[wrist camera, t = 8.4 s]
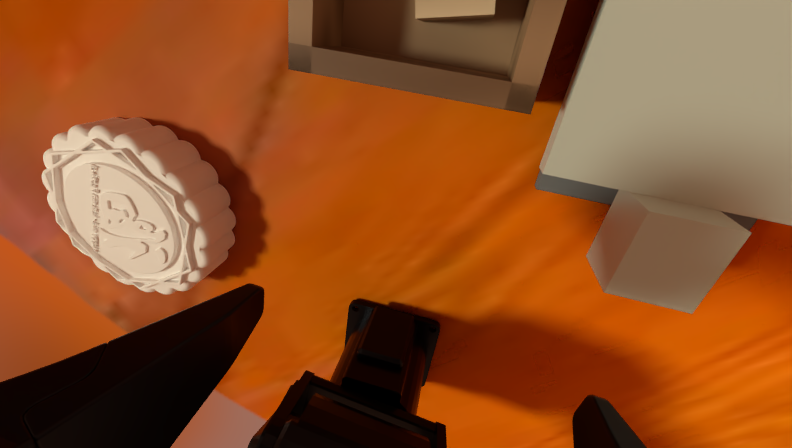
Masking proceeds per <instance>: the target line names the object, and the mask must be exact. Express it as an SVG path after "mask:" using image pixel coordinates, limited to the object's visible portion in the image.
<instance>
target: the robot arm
mask: <svg viewBox="0 0 792 448" xmlns="http://www.w3.org/2000/svg"><path fill="white" fill-rule="evenodd" d="M355 306H357V307H358V308H356V307H355ZM263 309H264V289H263V288H262V287H261V286H258V285H254V284H246V285H244V286H241V287H239V288H236V289H234V290H231V291H229V292H227V293H224V294H222V295H219V296H217V297H215V298H212V299H210V300H207V301H205V302H203V303H200V304H198V305H195V306H193V307H190V308H188V309H186V310H183V311H181V312H178V313H176V314H174V315H171V316H169V317H166V318H164V319H162V320H159V321H157V322H154V323H152V324H149V325H147V326H145V327H142V328H140V329H137V330H135V331H133V332H130V333H128V334H125V335H123V336H121V337H118V338H116V339H113V340H111V341H109V342H108V344H107V343H103V344H101V345H99V346H96V347H94V348H91V349H89V350H87V351H84V352H81V353H79V354H77V355H74V356H71V357H69V358H66V359H64V360H61V361H59V362H56V363H53V364H51V365H48V366H45V367H42V368H40V369H37V370H34V371H31V372H29V373H26V374H23V375H20V376H17V377H14V378H12V379H8V380H6V381H3V382H0V448H170V447H171V446H172V444H173V443H174V442H175V440H176V439H177V438H178V436H179V435H180V434H181V432H182V431H183V430H184V428H185V427H186V426H187V424H188V423H189V422H190V420H191V419H192V417H193V416H194V415H195V414H196V412H197V411H198V410H199V408H200V407H201V406H202V404H203V403H204V402H205V400H206V399H207V398H208V396H209V395H210V394H211V393H212V391H213V390H214V389H215V387H216V386H217V385H218V383H219V382H220V381H221V379H222V378H223V377H224V375H225V374H226V373H227V371H228V370H229V368H230V367H231V366H232V364H233V362H234V361H235V359H236V358H237V356H238V354H239V353H240V351H241V349H242V348H243V346H244V344H245V343H246V341H247V339H248V338H249V336H250V334H251V333H252V331H253V329H254V328H255V326H256V324H257V323H258V321H259V319H260V318H261V316H262V313H263ZM431 327H434V328H431ZM439 332H440V324H439V323H438V322H437V321H435V320H432V319H428V318H424V317H420V316H417V315H413V314H409V313H405V312H402V311H398V310H394V309H390V308H387V307H383V306H379V305H375V304H372V303H368V302H364V301H360V300H353V301H352V302H351V303H350V305H349V310H348V320H347V329H346V339H345V348H344V351H343V353H342V355H341V358H340V360H339V362H338V364H337V366H336V369H335V371H334V373H333V375H332V377H331V380H330V381H328V380H325V379H323V378H320V377H318V376H315V375H314V374H315V373H312V372H310V371H307V370H306V371H305V372H304V374H303V375H302V377H301V378H300V380H296V382H295V383H294V385H291V386H290V388H289V390H288V392H287V393H286V395H285V397H284V399H283V400H282V402H281V404H280V406H279V407H278V409H277V410H276V411H275V413H274V414H273V415H272V416H271V417H270V418H269V419H268V421H267V422H266V423H265V424H264V425H263V426H262V427H261V428H260V429H259V431H258V432H257V433H256V434H255V435H254V436H253V438H252V439H251V441H250V443H249V445H248V448H447V444H446V426H445V425H444V424H441V423H439V422H436V423H434V422H431V421H429V420H426V419H424V418H421V417H419V416H416V414H417V408H418V402H419V397H420V391H421V387H422V386H424V385H425V382H426V378H427V375H428V371H429V368H430V364H431V361H432V357H433V353H434V350H435V346H436V343H437V339H438V336H439ZM573 440H574V448H647V447H646V446H645V445H644V444H643V442H642V441H641V440H640V439H639V438H638V436H637V435H636V434H635V433H634V432H633V430H632V429H631V428H630V427H629V425H628V424H627V423H626V422H625V421H624V419H623V418H622V417H621V416H620V415H619V413H618V412H617V411H616V410H615V408H614V407H613V406H612V405H611V404H610V403H609V401H607V400H606V399H604V398H601V397H598V396H595V395H588V396H587V397H586V398H585V399H584V401H583V402H582V403H581V405H580V406H579V407H578V409H577V410H576V411H575V413H574V415H573Z"/></svg>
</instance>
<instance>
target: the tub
mask: <svg viewBox="0 0 792 448" xmlns="http://www.w3.org/2000/svg"><path fill="white" fill-rule="evenodd" d="M566 2H567V0H496V2H495V14H494V17H493V19H475V20H455V21H436V22H423V21H420V20H418V19H415V0H288V24H289V69H291V70H296V71H302V72H307V73H312V74H318V75H323V76H328V77H334V78H339V79H344V80H350V81H355V82H360V83H366V84H371V85H376V86H382V87H387V88H392V89H398V90H403V91H408V92H414V93H419V94H424V95H430V96H435V97H440V98H446V99H451V100H457V101H462V102H467V103H473V104H478V105H483V106H489V107H494V108H499V109H505V110H510V111H515V112H521V113H526V114H531V111H532V108H533V105H534V102H535V98H536V95H537V92H538V89H539V86H540V83H541V80H542V77H543V74H544V71H545V67H546V64H547V61H548V58H549V55H550V52H551V49H552V46H553V43H554V39H555V36H556V33H557V30H558V27H559V24H560V21H561V18H562V15H563V12H564V8H565V5H566Z"/></svg>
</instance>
